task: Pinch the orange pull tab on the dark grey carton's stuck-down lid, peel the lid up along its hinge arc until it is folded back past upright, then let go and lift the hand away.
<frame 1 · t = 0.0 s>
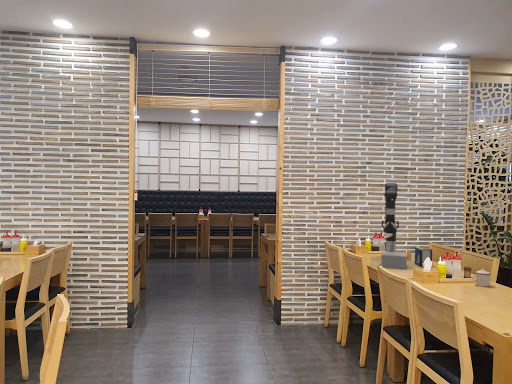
hand: (389, 232, 344), 29 cm above the table, tool pointing down, fingers open, 8 cm apart
carton: (393, 266, 346), on the table
carton lid: (396, 254, 345), point 10 cm above the table, hinge at 0.0°
teacup with lid: (480, 285, 282), on the table
protein box: (423, 265, 353), on the table
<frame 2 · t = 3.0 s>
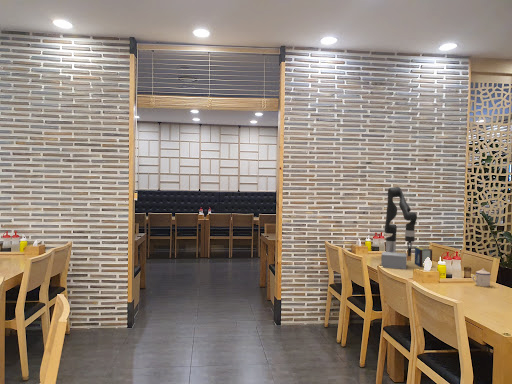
hand: (409, 255, 341), 10 cm above the table, tool pointing down, fingers closed
carton lid: (396, 254, 345), point 10 cm above the table, hinge at 0.0°, touching gripper
everything else where it was.
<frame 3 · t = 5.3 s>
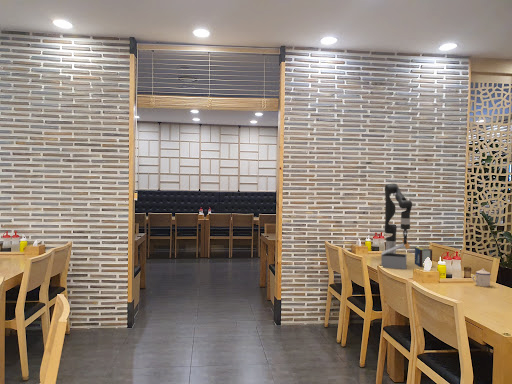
hand: (405, 243, 343), 20 cm above the table, tool pointing down, fingers closed
carton lid: (394, 248, 346), point 16 cm above the table, hinge at 26.8°, touching gripper
everything else where it was.
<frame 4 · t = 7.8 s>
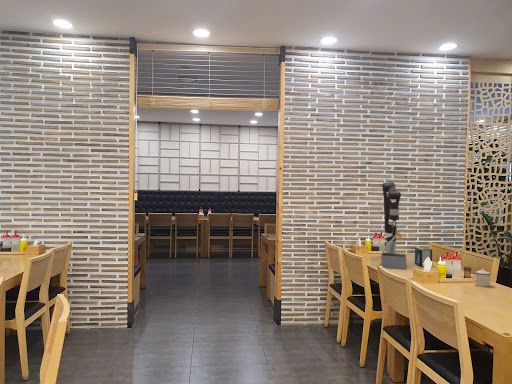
hand: (394, 234, 346), 28 cm above the table, tool pointing down, fingers closed
carton lid: (390, 243, 347), point 20 cm above the table, hinge at 55.8°, touching gripper
everything else where it was.
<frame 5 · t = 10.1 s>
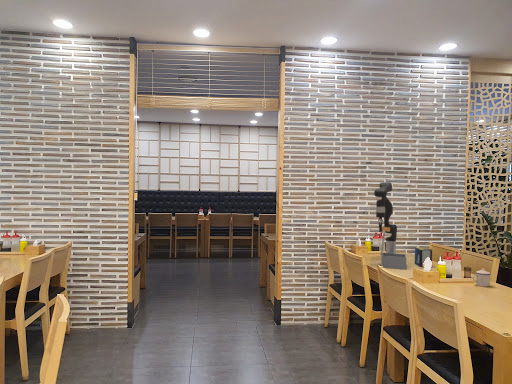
hand: (380, 231, 350), 29 cm above the table, tool pointing down, fingers closed
carton lid: (383, 240, 349), point 22 cm above the table, hinge at 84.9°, touching gripper
everything else where it was.
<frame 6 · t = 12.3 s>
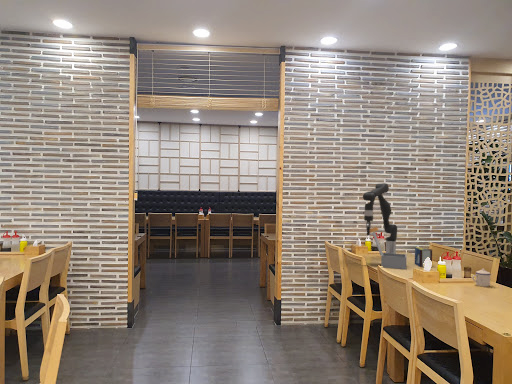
hand: (368, 234, 353), 26 cm above the table, tool pointing down, fingers closed
carton lid: (376, 241, 351), point 21 cm above the table, hinge at 111.2°
everything else where it was.
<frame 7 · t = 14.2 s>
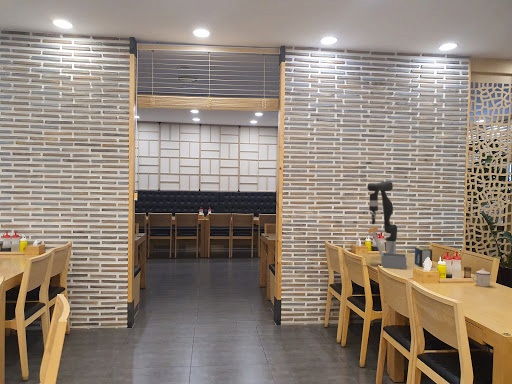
hand: (373, 223, 357), 36 cm above the table, tool pointing down, fingers open, 8 cm apart
nothing on the table moved.
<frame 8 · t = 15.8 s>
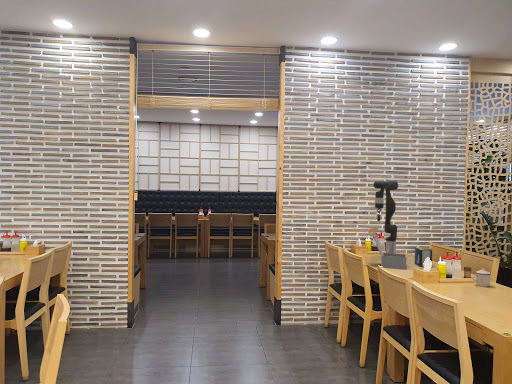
hand: (378, 220, 362), 38 cm above the table, tool pointing down, fingers open, 8 cm apart
nothing on the table moved.
at the end: carton lid at +111° (first picture: +0°); the gripper is holding nothing; protein box moved 0.3 cm from its start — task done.
